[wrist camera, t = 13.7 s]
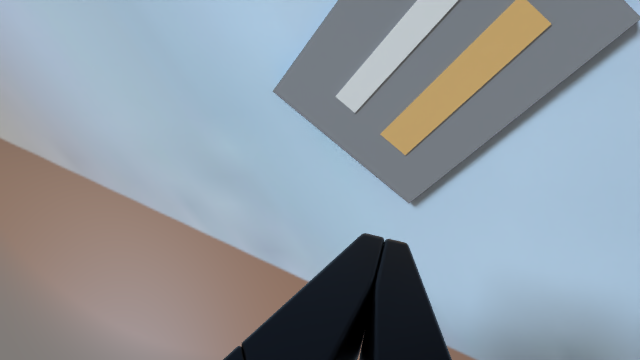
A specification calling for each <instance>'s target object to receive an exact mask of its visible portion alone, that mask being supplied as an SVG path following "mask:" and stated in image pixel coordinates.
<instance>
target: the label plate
mask: <svg viewBox="0 0 640 360" xmlns="http://www.w3.org/2000/svg"><path fill="white" fill-rule="evenodd" d="M639 20H640V16H639V15H638V14H637V13H636V12H635V11H634V10H633V9H632V8H631V7H630V6H629V5H628V4H627V3H626V2H625V1H624V0H338V1H337V3H336V4H335V5H334V7H333V8H332V10H331V11H330V12H329V14H328V15H327V17H326V18H325V19H324V21H323V22H322V24H321V25H320V26H319V28H318V29H317V31H316V32H315V33H314V35H313V36H312V37H311V39H310V40H309V42H308V43H307V44H306V46H305V47H304V49H303V50H302V51H301V53H300V54H299V56H298V57H297V58H296V60H295V61H294V62H293V64H292V65H291V67H290V68H289V69H288V71H287V72H286V74H285V75H284V76H283V78H282V79H281V81H280V82H279V83H278V85H277V86H276V87H275V89H274V90H273V92H274V93H275V94H277V95H278V96H279V97H280V98H281V99H283V100H284V101H285V102H286V103H287V104H289V105H290V106H291V107H292V108H294V109H295V110H296V111H297V112H298V113H300V114H301V115H302V116H303V117H304V118H306V119H307V120H308V121H309V122H311V123H312V124H313V125H314V126H315V127H317V128H318V129H319V130H320V131H322V132H323V133H324V134H325V135H326V136H328V137H329V138H330V139H331V140H332V141H334V142H335V143H336V144H337V145H339V146H340V147H341V148H342V149H343V150H345V151H346V152H347V153H348V154H349V155H351V156H352V157H353V158H354V159H356V160H357V161H358V162H359V163H360V164H362V165H363V166H364V167H365V168H367V169H368V170H369V171H370V172H371V173H373V174H374V175H375V176H376V177H377V178H379V179H380V180H381V181H382V182H384V183H385V184H386V185H387V186H388V187H390V188H391V189H392V190H393V191H394V192H396V193H397V194H398V195H399V196H401V197H402V198H403V199H404V200H405V201H407V202H408V203H410V202H411V201H413V200H414V199H415V198H416V197H418V196H419V195H420V194H421V193H423V192H424V191H425V190H426V189H428V188H429V187H430V186H431V185H433V184H434V183H435V182H436V181H438V180H439V179H440V178H441V177H443V176H444V175H445V174H447V173H448V172H449V171H450V170H452V169H453V168H454V167H455V166H457V165H458V164H459V163H460V162H462V161H463V160H464V159H465V158H467V157H468V156H469V155H470V154H472V153H473V152H474V151H475V150H477V149H478V148H479V147H480V146H482V145H483V144H484V143H485V142H487V141H488V140H489V139H491V138H492V137H493V136H494V135H496V134H497V133H498V132H499V131H501V130H502V129H503V128H504V127H506V126H507V125H508V124H509V123H511V122H512V121H513V120H514V119H516V118H517V117H518V116H519V115H521V114H522V113H523V112H524V111H526V110H527V109H528V108H529V107H531V106H532V105H533V104H534V103H536V102H537V101H538V100H540V99H541V98H542V97H543V96H545V95H546V94H547V93H548V92H550V91H551V90H552V89H553V88H555V87H556V86H557V85H558V84H560V83H561V82H562V81H563V80H565V79H566V78H567V77H568V76H570V75H571V74H572V73H573V72H575V71H576V70H577V69H578V68H580V67H581V66H582V65H583V64H585V63H586V62H587V61H589V60H590V59H591V58H592V57H594V56H595V55H596V54H597V53H599V52H600V51H601V50H602V49H604V48H605V47H606V46H607V45H609V44H610V43H611V42H612V41H614V40H615V39H616V38H617V37H619V36H620V35H621V34H622V33H624V32H625V31H626V30H627V29H629V28H630V27H631V26H632V25H634V24H635V23H636V22H638V21H639Z"/></svg>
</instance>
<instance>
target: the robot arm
mask: <svg viewBox="0 0 640 360" xmlns="http://www.w3.org/2000/svg"><path fill="white" fill-rule="evenodd" d="M363 336H364V337H363ZM362 341H363V342H362ZM361 345H362V347H361ZM360 348H361V353H360V359H359V360H452V359H451V357H450V354H449V351H448V349H447V346H446V343H445V341H444V338H443V336H442V333H441V330H440V328H439V325H438V322H437V320H436V317H435V314H434V312H433V309H432V306H431V304H430V301H429V299H428V296H427V293H426V291H425V288H424V285H423V283H422V280H421V277H420V275H419V272H418V269H417V267H416V264H415V262H414V259H413V256H412V254H411V251H410V248H409V246H408V245H407V244H406V243H404V242H400V241H396V240H392V239H386V240H385V242H384V239H383V238H382V237H379V236H375V235H371V234H366V233H364V234H362V235H361V236H359V237H358V238H357V239H356V240H355V241H354V242H353V243H352V244H350V245H349V246H348V247H347V248H346V249H345V250H344V251H343V252H342V253H341V254H339V255H338V256H337V257H336V258H335V259H334V260H333V261H332V262H331V263H330V264H328V265H327V266H326V267H325V268H324V269H323V270H322V271H321V272H320V273H318V274H317V275H316V276H315V277H314V278H313V279H312V280H311V281H310V282H309V283H307V284H306V286H304V287H303V288H302V289H301V290H300V291H299V292H298V293H296V295H294V296H293V297H292V298H291V299H290V300H289V301H288V302H286V304H284V305H283V306H282V307H281V308H280V309H279V310H278V311H277V312H276V313H274V314H273V315H272V316H271V317H270V318H269V319H268V320H267V321H266V322H264V323H263V324H262V325H261V326H260V327H259V328H258V329H257V330H256V331H255V332H253V333H252V334H251V335H250V336H249V337H248V338H247V339H246V340H245V341H243V343H242V347H240V346H238V347H236V348H235V349H234V350H233V351H232V352H231V353H230V354H229V355H228V356H227V357H226V358H224V359H223V360H357V359H358V355H359V352H360Z"/></svg>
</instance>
